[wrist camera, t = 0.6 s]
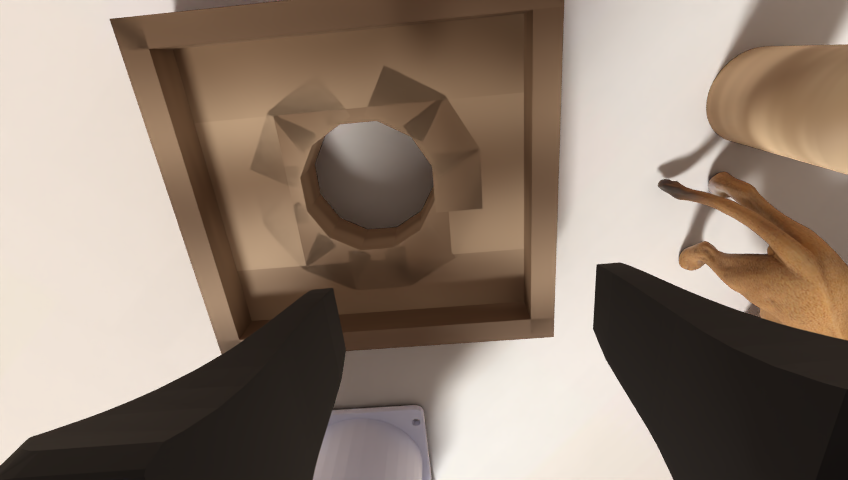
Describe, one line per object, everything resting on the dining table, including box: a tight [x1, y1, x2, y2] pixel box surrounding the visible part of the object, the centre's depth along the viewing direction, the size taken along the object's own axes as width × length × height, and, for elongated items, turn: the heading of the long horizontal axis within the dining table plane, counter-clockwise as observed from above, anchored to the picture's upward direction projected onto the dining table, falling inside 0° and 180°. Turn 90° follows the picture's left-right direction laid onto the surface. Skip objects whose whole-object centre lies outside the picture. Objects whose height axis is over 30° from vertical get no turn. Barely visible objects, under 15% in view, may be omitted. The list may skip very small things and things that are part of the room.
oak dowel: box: [706, 44, 848, 175], centre depth 16 cm, size 4×4×6 cm
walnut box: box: [110, 0, 564, 354], centre depth 19 cm, size 14×15×4 cm
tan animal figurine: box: [658, 172, 848, 340], centre depth 18 cm, size 15×5×9 cm, turn 50°
